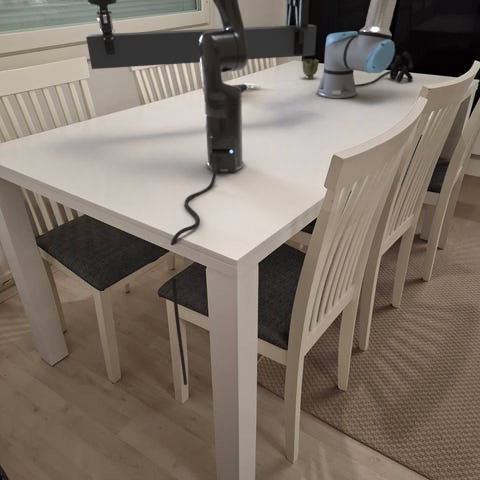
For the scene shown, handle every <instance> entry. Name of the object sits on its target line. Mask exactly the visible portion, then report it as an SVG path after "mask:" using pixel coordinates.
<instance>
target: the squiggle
mask: <svg viewBox="0 0 480 480" xmlns="http://www.w3.org/2000/svg"><path fill="white" fill-rule="evenodd" d="M401 57H402V59H401ZM393 60H394V61H393ZM406 62H407V65H408V66H407V68H405V67H406V66H405V64H406ZM404 66H405V67H404ZM388 67H390V68H391V70H390V71H391V72H390V73H389V78H390V79H391V80H395V79H396V81H397V82H399V83H400V82H402V81H403V79H404V76H406V78H407V80H408V81H412V80H413V79H414V77H413V75H412V74H411V73H410V72H409V71H410V70H412V69H413V68H414V64H413V61H412V57H411V54H410V53H409V52H408V51H403V53H402V54H401V55H396V54H394V56H393V59H392V61H391V63H390V65H389V66H388ZM399 68H400V69H401V70H399Z"/></svg>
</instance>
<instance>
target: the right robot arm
mask: <svg viewBox="0 0 480 480" xmlns="http://www.w3.org/2000/svg"><path fill="white" fill-rule="evenodd" d="M396 3H397V0H370V3H369V7H368V11H367V15H366V21H365V25H364V26H363V27H362V28H360V30H359V31H355V30H354V31H353V30H351V31H342V32H341V31H340V32H333V33H329V34H328V35H327V36H326V41H325V46H324V60H323V61H324V62H323V74H322V77H321V79H320V82H319V84H318V86H317V95H318V96H320V97H322V98H327V99H349V98H353V97H355V96H356V93H357V87H362V86H367V85H370V84H374V83H376V82H377V81H379V80H380V79H381V78H382V77H384V76H385V75H388V74H390V72H391V70H389V71H386V72H384V71H385V70H386V69H387V68H388V67H390V66H389V65H390V63H391V61H393V60H394V59H393V56H394V55H395V51H396V48H395V46H396V45H395V42H394V41H393V40H392V36H393V35H392V32H391V31H390V27H391V25H392V20H393V16H394V11H395V7H396ZM309 12H310V0H285V18H284V19H285V20H284V21H285V23H284V24H285V25H284V26H287V25H296V29H295V30H294V32H295V41H294V55H299V54H303V45H304V31H305V30H307V29H308V25H309ZM403 66H404V67H405V68H407V69H408V66H406V65H403ZM354 71H358V72H363V73H367V74H381V73H382V72H384V73H382V74H381V75H379V76H378V77H377V78H375V79H374V80H372V81H368V82H365V83H360V84H356V82H355V78H354V77H355V76H354ZM399 71H402V70H401V69H400V68H399Z"/></svg>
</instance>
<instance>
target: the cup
mask: <svg viewBox="0 0 480 480" xmlns="http://www.w3.org/2000/svg"><path fill="white" fill-rule="evenodd" d="M319 62H320V60H319V59H316V58H315V59H312V58H310V59H309V58H306V59H302V62H301V63H302V73H303V74H304V75H305V79H307V80H313V79H314V78H315V77H314V75H316V74H317V72H318V67H319V64H320V63H319Z"/></svg>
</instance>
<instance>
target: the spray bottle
mask: <svg viewBox="0 0 480 480" xmlns="http://www.w3.org/2000/svg"><path fill="white" fill-rule="evenodd" d="M231 85H232V84H231ZM232 86H236V87H238V88H239V89H240V90H241V94H243V91H247V89H257V88H259V89H260V88H261V84H258V83H257V84H256V83H251V82H245V83H243V84H242V83H241V84H233V85H232Z"/></svg>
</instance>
